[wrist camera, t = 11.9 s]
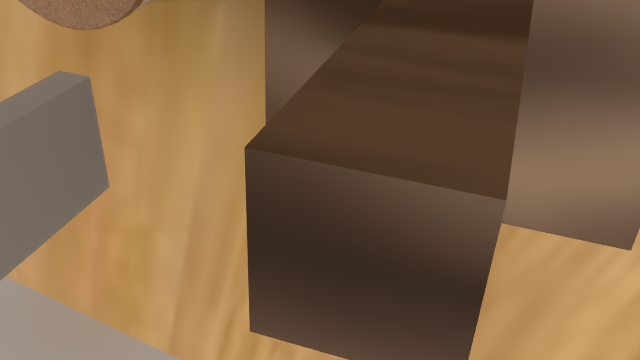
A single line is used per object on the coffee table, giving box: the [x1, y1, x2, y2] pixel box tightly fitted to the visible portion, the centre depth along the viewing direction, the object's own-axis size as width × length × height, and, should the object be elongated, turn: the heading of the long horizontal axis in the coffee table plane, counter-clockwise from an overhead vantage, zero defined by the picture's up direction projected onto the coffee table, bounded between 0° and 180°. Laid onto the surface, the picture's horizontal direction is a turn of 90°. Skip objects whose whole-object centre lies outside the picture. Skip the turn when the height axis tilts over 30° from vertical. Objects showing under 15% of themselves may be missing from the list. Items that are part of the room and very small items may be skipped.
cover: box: [245, 0, 640, 360], centre depth 21 cm, size 15×15×26 cm
